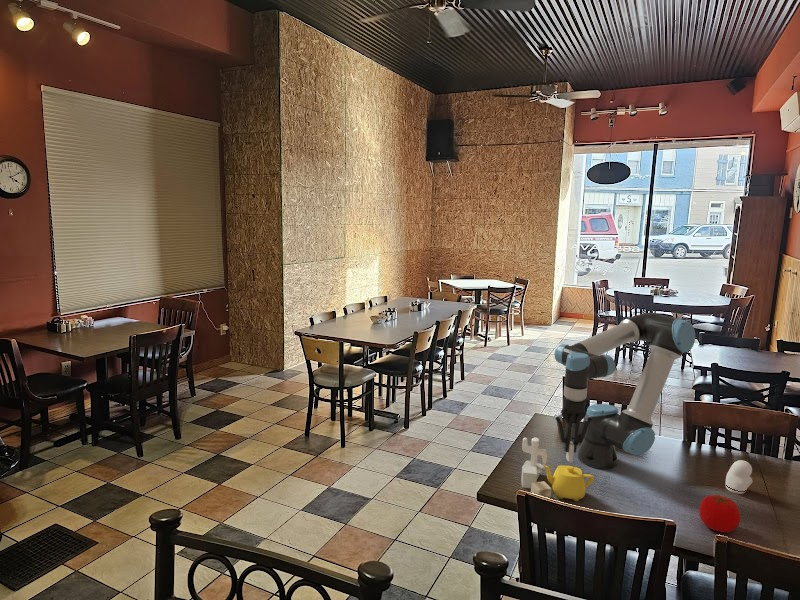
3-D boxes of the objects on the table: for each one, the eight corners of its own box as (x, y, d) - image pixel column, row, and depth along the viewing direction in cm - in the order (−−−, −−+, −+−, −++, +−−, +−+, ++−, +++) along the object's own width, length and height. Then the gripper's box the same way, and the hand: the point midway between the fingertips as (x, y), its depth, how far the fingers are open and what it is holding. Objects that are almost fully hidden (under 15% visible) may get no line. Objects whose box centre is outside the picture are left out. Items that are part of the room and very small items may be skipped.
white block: (534, 481, 198) (536, 467, 196) (535, 489, 193) (537, 474, 192) (521, 480, 198) (522, 465, 197) (521, 487, 194) (523, 472, 192)
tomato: (700, 533, 169) (705, 504, 167) (694, 513, 180) (698, 484, 178) (741, 542, 165) (746, 512, 163) (732, 520, 176) (737, 492, 174)
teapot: (540, 498, 187) (542, 470, 185) (540, 482, 197) (542, 456, 195) (593, 506, 182) (596, 478, 180) (590, 490, 193) (593, 463, 191)
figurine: (543, 482, 197) (546, 445, 194) (518, 476, 201) (520, 439, 198) (547, 474, 203) (550, 438, 200) (523, 468, 207) (525, 432, 205)
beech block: (542, 493, 190) (544, 481, 189) (550, 501, 185) (551, 488, 184) (530, 495, 188) (531, 482, 187) (537, 503, 184) (538, 490, 183)
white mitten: (741, 497, 190) (746, 466, 188) (720, 487, 197) (725, 457, 195) (752, 492, 194) (757, 462, 191) (731, 482, 200) (736, 453, 198)
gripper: (589, 393, 186) (583, 455, 191) (552, 393, 186) (548, 454, 191) (597, 401, 179) (591, 465, 184) (559, 401, 179) (554, 465, 184)
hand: (569, 460), depth 187 cm, fingers closed
